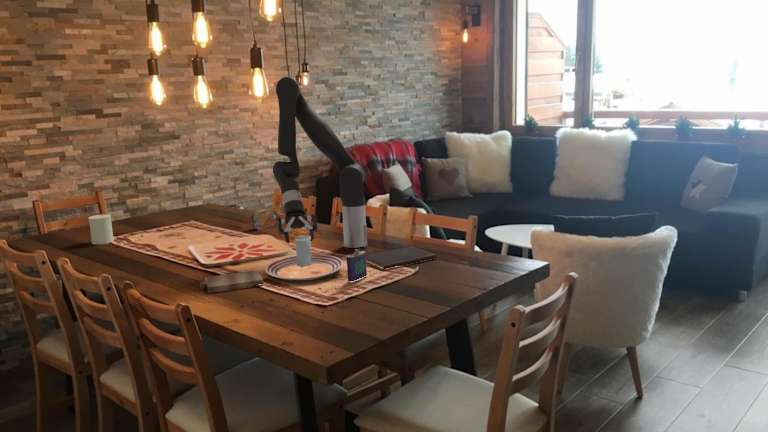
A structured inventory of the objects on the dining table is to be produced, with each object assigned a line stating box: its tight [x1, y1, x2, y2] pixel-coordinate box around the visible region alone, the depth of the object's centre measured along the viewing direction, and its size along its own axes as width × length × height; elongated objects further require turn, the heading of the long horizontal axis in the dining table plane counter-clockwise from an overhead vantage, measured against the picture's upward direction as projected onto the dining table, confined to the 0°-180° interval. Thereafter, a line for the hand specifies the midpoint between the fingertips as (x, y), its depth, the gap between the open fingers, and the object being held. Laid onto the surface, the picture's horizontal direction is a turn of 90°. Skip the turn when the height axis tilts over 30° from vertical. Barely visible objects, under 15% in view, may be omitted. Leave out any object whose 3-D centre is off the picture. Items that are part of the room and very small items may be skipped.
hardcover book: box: [366, 245, 437, 269], centre depth 242 cm, size 16×23×2 cm
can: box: [87, 213, 115, 245], centre depth 286 cm, size 9×9×12 cm
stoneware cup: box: [294, 234, 312, 267], centre depth 229 cm, size 6×6×10 cm
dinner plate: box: [265, 253, 344, 281], centre depth 231 cm, size 27×27×3 cm
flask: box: [346, 249, 368, 282], centre depth 220 cm, size 9×3×11 cm, turn 144°
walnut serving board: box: [199, 270, 264, 294], centre depth 220 cm, size 20×12×2 cm, turn 111°
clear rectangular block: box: [249, 208, 278, 231], centre depth 303 cm, size 15×3×8 cm, turn 143°
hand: (300, 241), depth 237 cm, fingers open, 8 cm apart
